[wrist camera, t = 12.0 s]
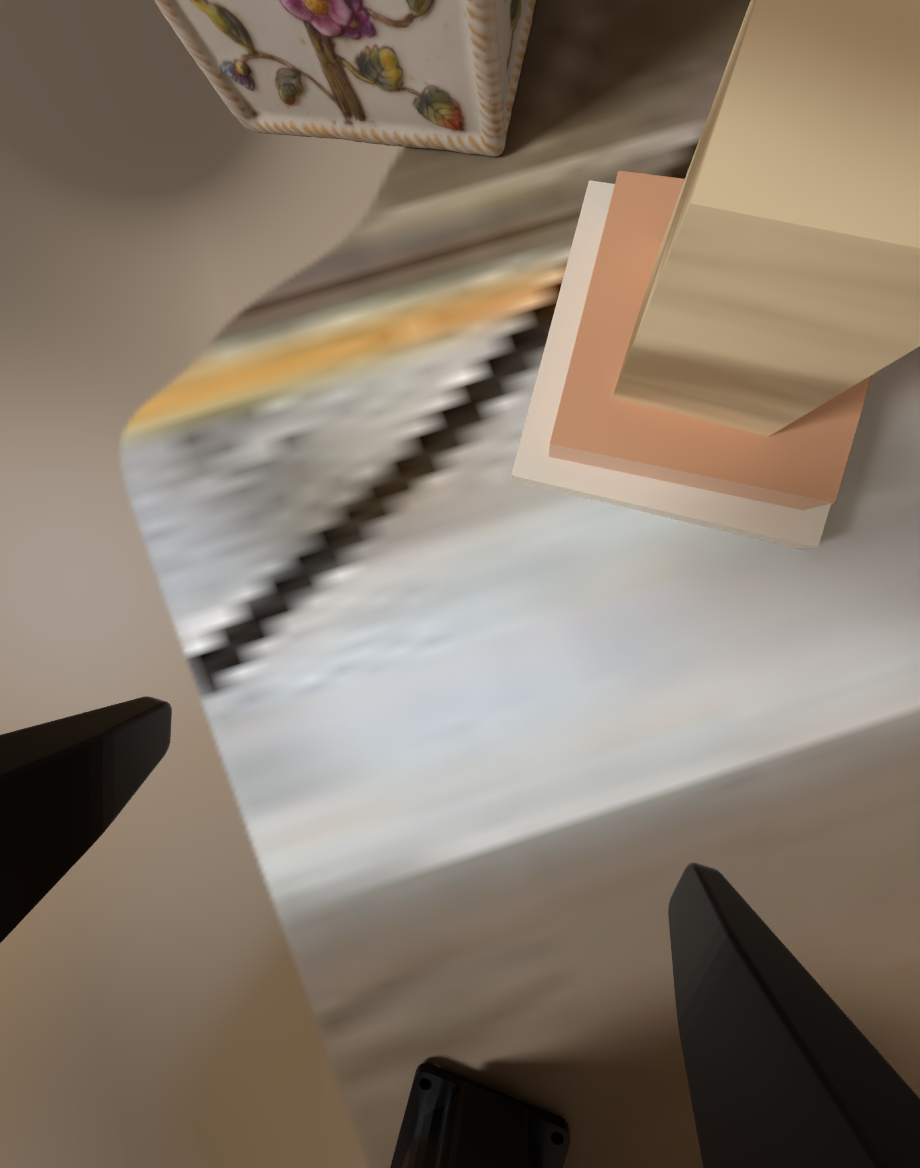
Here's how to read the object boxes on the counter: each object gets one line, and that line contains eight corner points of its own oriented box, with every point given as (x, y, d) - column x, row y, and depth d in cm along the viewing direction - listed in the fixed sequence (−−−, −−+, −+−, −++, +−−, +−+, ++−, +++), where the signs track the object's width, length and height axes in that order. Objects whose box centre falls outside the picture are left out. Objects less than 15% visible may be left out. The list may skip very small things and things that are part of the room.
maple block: (768, 436, 16) (1043, 272, 7) (612, 396, 17) (691, 202, 8) (822, 278, 16) (1179, -92, 7) (660, 245, 17) (799, -132, 8)
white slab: (790, 550, 20) (818, 547, 18) (513, 484, 21) (511, 475, 20) (876, 263, 19) (915, 228, 17) (584, 217, 21) (589, 180, 19)
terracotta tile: (802, 510, 18) (835, 502, 16) (548, 456, 19) (549, 443, 17) (876, 250, 17) (919, 208, 15) (610, 212, 19) (618, 170, 17)
